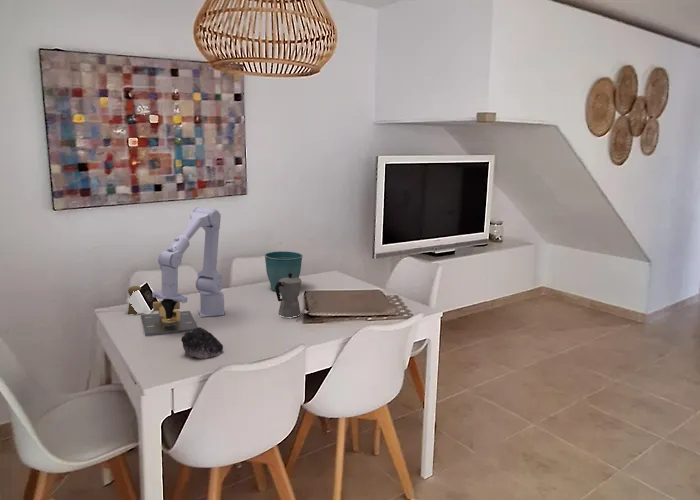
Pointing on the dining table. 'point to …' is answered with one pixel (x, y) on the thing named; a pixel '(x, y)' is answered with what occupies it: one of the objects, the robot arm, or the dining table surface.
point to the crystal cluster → (201, 344)
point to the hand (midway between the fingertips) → (169, 318)
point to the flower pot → (282, 266)
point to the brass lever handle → (172, 320)
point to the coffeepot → (288, 296)
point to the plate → (155, 326)
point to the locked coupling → (158, 304)
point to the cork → (130, 291)
